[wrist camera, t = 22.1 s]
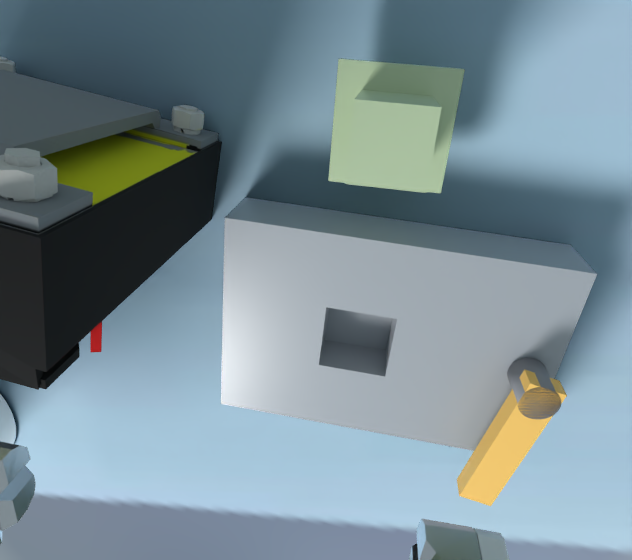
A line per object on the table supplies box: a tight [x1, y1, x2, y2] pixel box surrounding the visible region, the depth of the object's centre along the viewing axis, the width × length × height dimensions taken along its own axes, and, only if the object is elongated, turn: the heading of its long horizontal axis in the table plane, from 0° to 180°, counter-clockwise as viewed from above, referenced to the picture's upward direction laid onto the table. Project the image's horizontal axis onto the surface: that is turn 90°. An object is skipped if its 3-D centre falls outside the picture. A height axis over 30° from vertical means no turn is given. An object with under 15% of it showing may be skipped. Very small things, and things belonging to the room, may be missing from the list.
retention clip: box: [457, 358, 567, 506], centre depth 34 cm, size 11×3×3 cm, turn 164°
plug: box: [328, 58, 465, 193], centre depth 28 cm, size 7×7×11 cm
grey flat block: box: [221, 197, 597, 451], centre depth 37 cm, size 24×16×5 cm, turn 84°
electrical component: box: [0, 56, 222, 390], centre depth 27 cm, size 18×10×20 cm, turn 77°
